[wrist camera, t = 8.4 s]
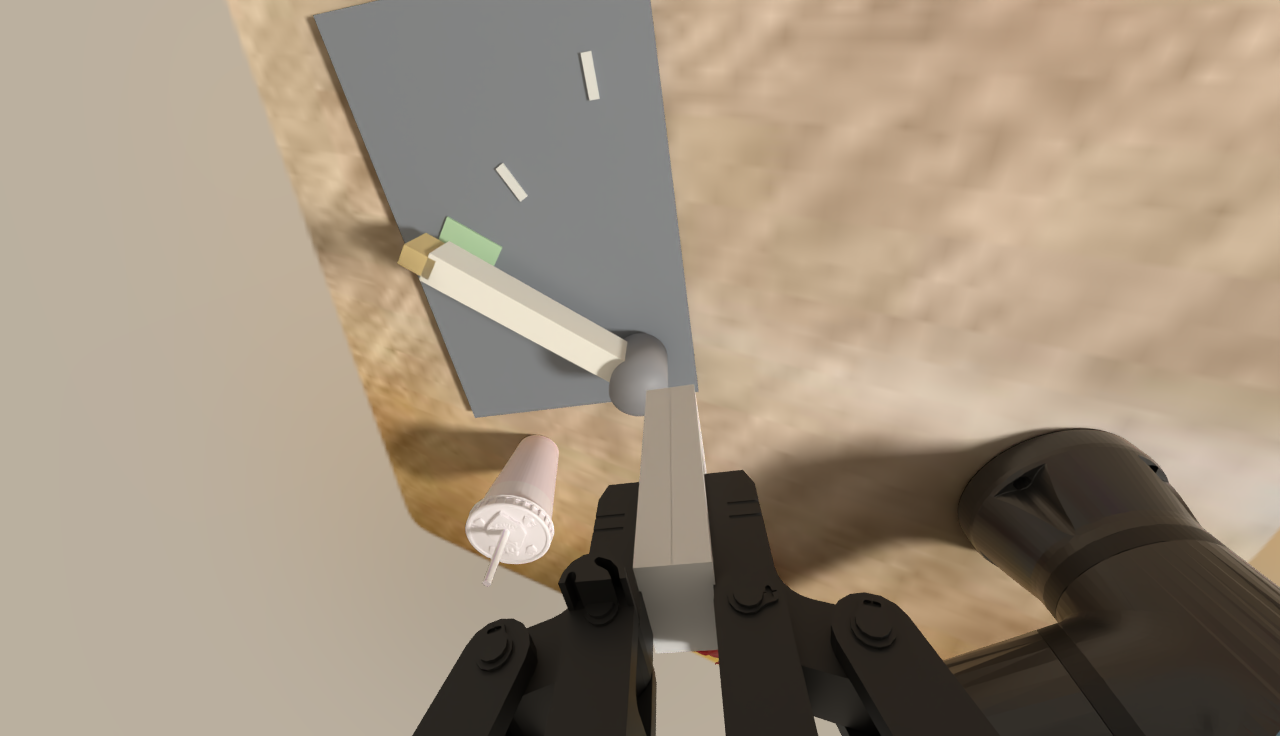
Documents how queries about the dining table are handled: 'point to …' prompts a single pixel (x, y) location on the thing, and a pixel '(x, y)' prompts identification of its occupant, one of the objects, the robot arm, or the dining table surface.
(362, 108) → the dial plate
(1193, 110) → the dining table surface
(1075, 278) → the dining table surface
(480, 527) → the smoothie
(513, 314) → the lever
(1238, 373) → the dining table surface
